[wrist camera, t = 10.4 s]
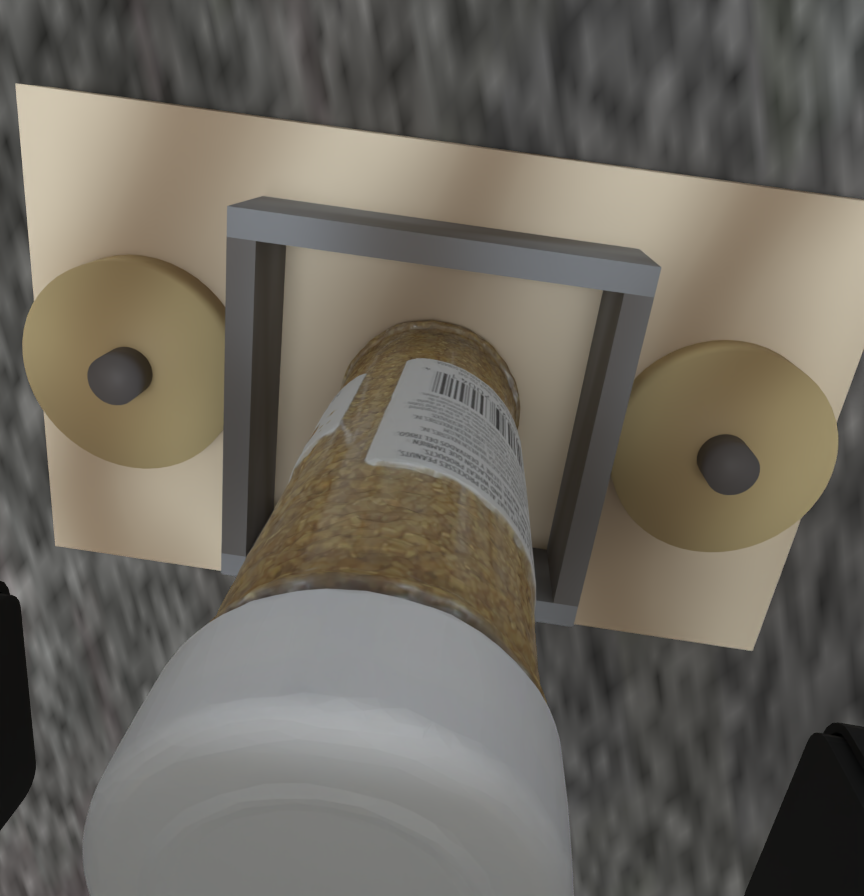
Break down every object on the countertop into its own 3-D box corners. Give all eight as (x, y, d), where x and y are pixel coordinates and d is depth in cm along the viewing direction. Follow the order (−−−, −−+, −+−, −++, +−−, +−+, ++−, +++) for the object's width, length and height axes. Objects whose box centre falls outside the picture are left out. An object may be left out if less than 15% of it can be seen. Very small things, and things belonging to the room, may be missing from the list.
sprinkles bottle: (309, 367, 19) (-47, 823, 6) (471, 282, 18) (420, 640, 5) (398, 513, 20) (247, 1117, 8) (553, 443, 19) (663, 1020, 7)
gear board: (882, 202, 18) (985, 220, 14) (736, 619, 22) (784, 714, 19) (51, 87, 18) (-62, 75, 14) (82, 520, 23) (2, 595, 19)
